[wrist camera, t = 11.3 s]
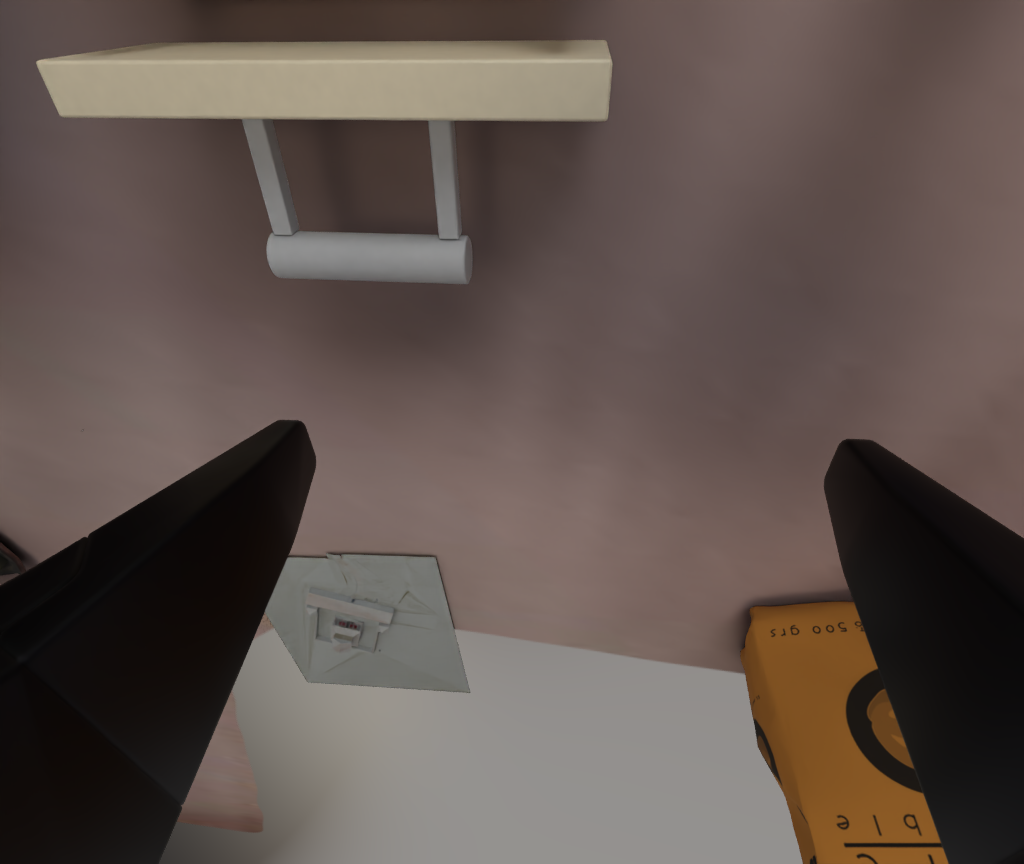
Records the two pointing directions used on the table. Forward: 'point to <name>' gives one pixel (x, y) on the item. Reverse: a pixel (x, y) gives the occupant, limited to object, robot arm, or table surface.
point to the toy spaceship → (368, 622)
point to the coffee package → (834, 738)
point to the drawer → (344, 96)
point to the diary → (9, 562)
